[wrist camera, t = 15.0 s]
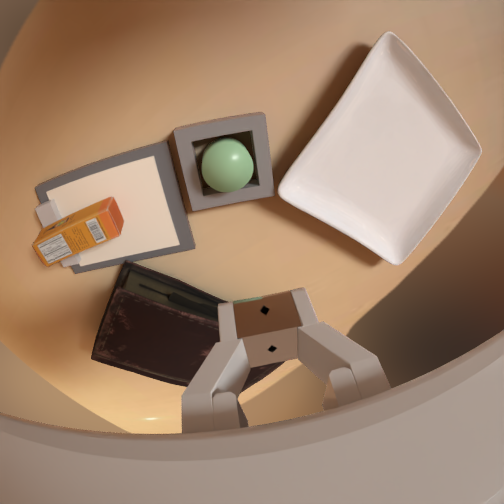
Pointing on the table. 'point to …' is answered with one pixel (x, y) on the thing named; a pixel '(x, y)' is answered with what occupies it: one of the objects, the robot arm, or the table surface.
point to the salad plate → (385, 155)
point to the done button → (226, 165)
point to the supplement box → (79, 231)
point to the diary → (161, 328)
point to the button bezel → (217, 128)
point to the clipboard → (123, 206)
